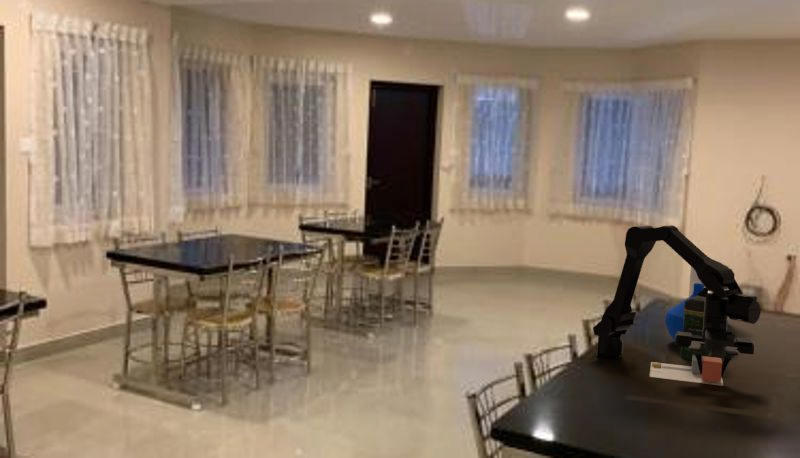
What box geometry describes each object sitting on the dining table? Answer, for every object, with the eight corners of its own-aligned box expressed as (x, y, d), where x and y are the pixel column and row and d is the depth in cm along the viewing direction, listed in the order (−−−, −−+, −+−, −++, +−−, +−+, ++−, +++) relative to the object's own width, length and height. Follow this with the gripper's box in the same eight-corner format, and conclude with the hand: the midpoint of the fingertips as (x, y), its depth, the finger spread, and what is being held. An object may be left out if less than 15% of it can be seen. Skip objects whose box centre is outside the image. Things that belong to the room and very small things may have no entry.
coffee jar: (705, 365, 222) (710, 301, 220) (676, 360, 227) (681, 297, 225) (714, 358, 230) (719, 296, 228) (686, 353, 235) (691, 292, 233)
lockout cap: (701, 379, 203) (703, 360, 202) (701, 374, 207) (702, 356, 206) (720, 381, 201) (722, 362, 201) (719, 376, 205) (721, 358, 205)
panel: (649, 380, 207) (650, 369, 206) (651, 365, 221) (651, 355, 220) (723, 389, 201) (724, 377, 201) (720, 373, 215) (721, 362, 215)
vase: (661, 347, 241) (665, 286, 238) (665, 334, 257) (669, 277, 255) (726, 355, 234) (731, 292, 232) (726, 341, 251) (730, 282, 248)
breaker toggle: (691, 373, 211) (692, 360, 210) (691, 367, 216) (692, 354, 216) (715, 375, 209) (717, 363, 208) (714, 369, 214) (715, 357, 214)
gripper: (677, 318, 198) (672, 379, 199) (758, 326, 191) (753, 388, 193) (677, 309, 208) (673, 367, 210) (754, 317, 202) (749, 376, 204)
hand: (711, 375), depth 204 cm, fingers closed on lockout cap, 4 cm apart
